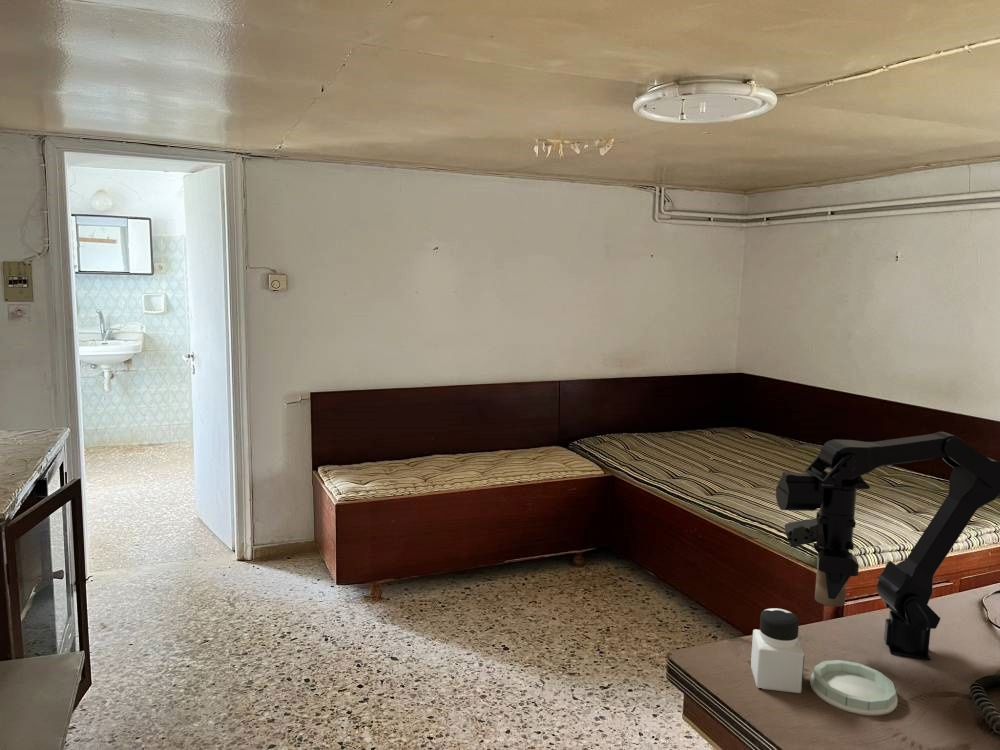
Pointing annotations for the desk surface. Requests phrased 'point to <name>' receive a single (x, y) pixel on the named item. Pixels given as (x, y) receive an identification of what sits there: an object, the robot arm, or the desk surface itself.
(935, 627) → the robot arm
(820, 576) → the brown domed cylinder
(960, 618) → the desk surface
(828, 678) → the ring dish
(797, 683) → the medicine bottle
